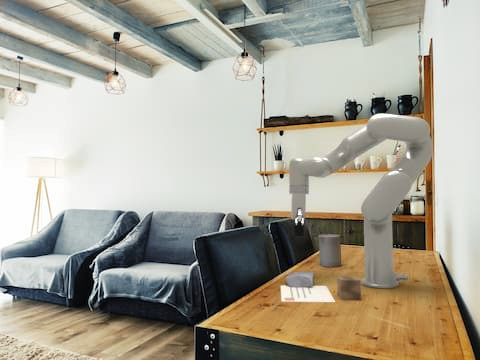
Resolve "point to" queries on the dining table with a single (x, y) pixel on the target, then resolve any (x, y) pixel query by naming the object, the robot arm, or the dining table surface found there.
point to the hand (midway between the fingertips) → (298, 234)
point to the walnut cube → (349, 287)
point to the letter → (306, 294)
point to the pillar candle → (330, 250)
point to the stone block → (300, 279)
